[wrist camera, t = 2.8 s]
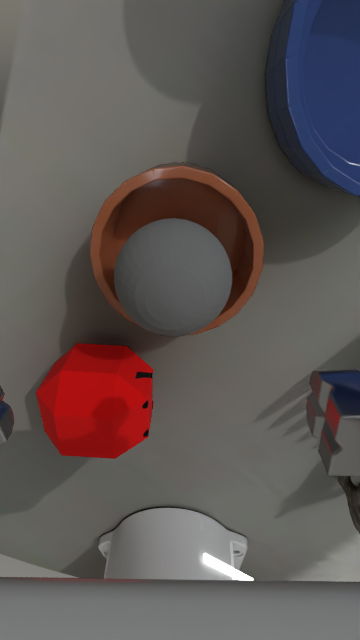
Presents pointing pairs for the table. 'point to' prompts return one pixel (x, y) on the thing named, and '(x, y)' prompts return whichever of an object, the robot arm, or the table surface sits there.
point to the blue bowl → (317, 89)
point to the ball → (97, 401)
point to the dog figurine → (352, 499)
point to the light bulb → (172, 277)
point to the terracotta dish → (182, 203)
